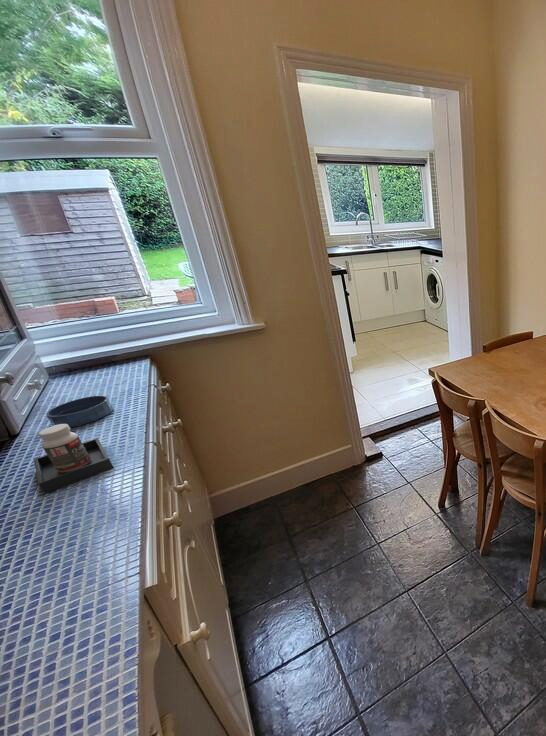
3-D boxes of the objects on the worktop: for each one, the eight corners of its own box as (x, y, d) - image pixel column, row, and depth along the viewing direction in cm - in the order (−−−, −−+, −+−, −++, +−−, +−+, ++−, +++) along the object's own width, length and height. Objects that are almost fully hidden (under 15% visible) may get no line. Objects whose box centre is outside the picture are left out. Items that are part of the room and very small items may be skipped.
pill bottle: (88, 467, 94) (67, 430, 90) (54, 476, 91) (30, 438, 87) (94, 455, 98) (73, 420, 94) (62, 464, 96) (39, 428, 92)
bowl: (55, 433, 111) (47, 421, 109) (52, 420, 119) (44, 408, 117) (116, 415, 120) (110, 402, 118) (109, 403, 128) (103, 391, 126)
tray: (39, 468, 96) (33, 459, 95) (102, 446, 104) (97, 437, 102) (45, 493, 87) (38, 483, 86) (113, 467, 94) (108, 458, 93)
